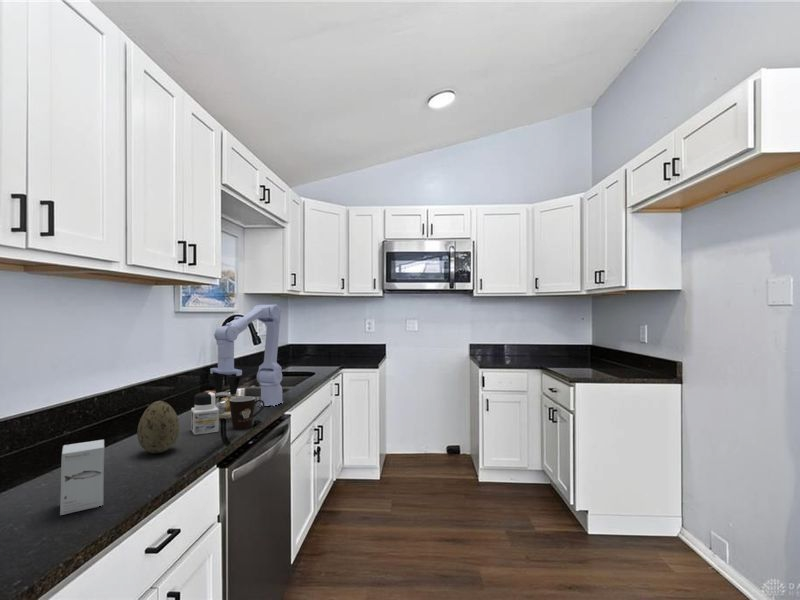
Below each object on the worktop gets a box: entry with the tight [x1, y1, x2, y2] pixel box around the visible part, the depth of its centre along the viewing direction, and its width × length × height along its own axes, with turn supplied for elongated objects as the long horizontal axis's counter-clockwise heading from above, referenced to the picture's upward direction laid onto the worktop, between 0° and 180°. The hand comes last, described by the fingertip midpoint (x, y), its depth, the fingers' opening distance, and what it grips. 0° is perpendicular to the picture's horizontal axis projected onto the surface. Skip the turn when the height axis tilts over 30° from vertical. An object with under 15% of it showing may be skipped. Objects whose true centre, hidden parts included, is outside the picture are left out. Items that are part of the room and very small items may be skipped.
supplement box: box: [59, 439, 105, 516], centre depth 90 cm, size 7×7×13 cm
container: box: [190, 391, 220, 436], centre depth 145 cm, size 8×8×13 cm
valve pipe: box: [215, 395, 243, 414], centre depth 170 cm, size 15×4×5 cm, turn 164°
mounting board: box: [219, 409, 231, 420], centre depth 170 cm, size 16×13×1 cm
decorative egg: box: [136, 400, 180, 454], centre depth 123 cm, size 11×11×15 cm
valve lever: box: [204, 390, 233, 397], centre depth 172 cm, size 13×2×1 cm, turn 74°
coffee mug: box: [229, 396, 265, 431], centre depth 150 cm, size 12×9×10 cm
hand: (225, 393), depth 160 cm, fingers open, 7 cm apart
